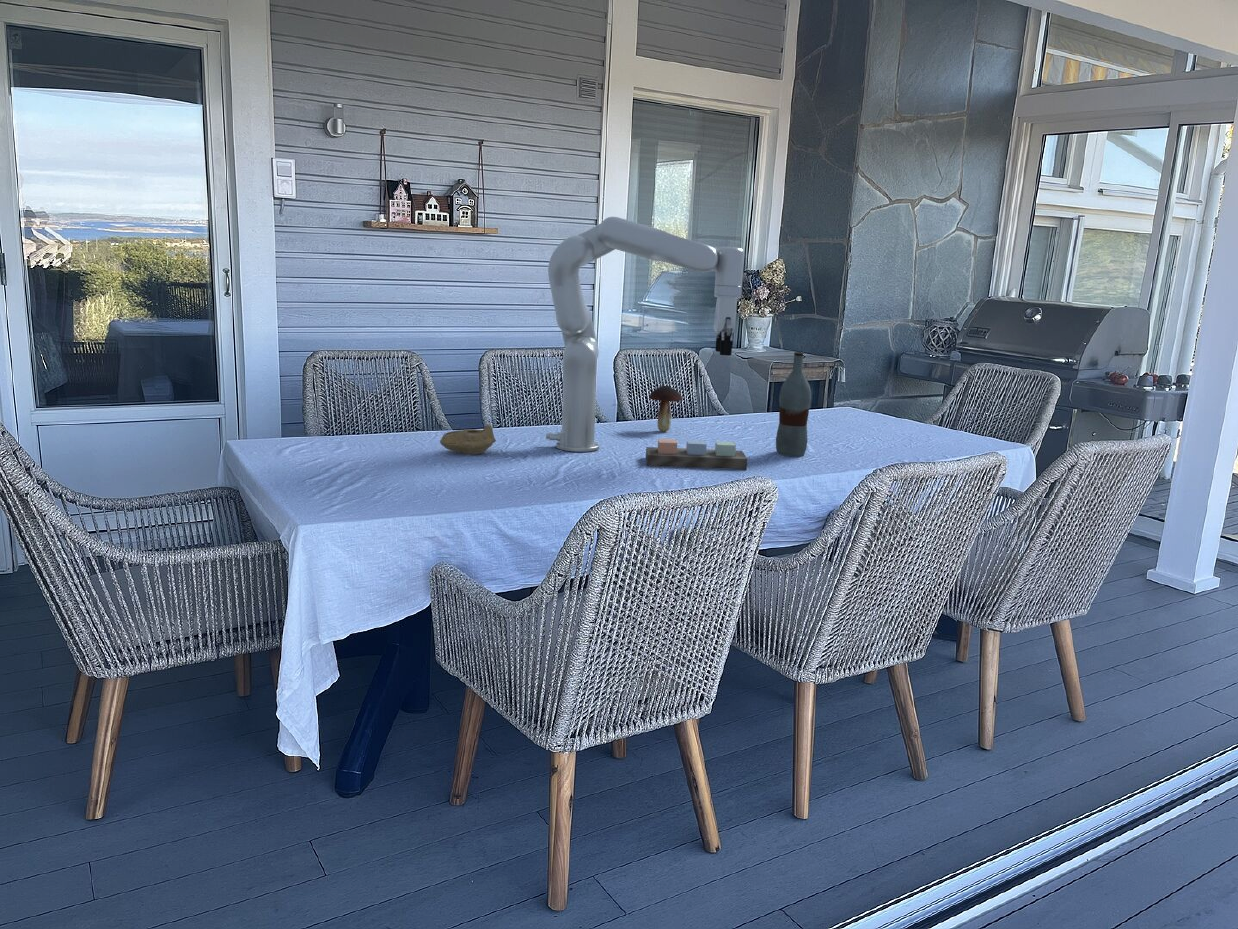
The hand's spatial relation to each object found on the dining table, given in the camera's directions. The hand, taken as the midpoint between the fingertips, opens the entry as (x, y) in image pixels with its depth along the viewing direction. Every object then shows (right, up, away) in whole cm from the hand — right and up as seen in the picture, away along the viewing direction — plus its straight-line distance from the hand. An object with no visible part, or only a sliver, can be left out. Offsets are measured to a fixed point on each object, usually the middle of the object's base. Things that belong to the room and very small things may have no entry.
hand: (723, 353), depth 274 cm
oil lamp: (-71, -29, -6) cm, 77 cm away
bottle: (+21, -29, +12) cm, 38 cm away
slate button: (-8, -30, -7) cm, 32 cm away
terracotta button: (-16, -29, -7) cm, 35 cm away
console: (-8, -31, -7) cm, 33 cm away
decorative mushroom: (-15, -21, +39) cm, 47 cm away
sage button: (0, -30, -7) cm, 31 cm away
